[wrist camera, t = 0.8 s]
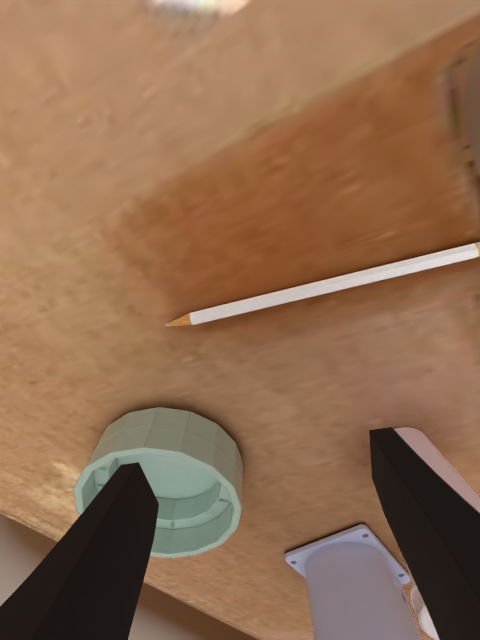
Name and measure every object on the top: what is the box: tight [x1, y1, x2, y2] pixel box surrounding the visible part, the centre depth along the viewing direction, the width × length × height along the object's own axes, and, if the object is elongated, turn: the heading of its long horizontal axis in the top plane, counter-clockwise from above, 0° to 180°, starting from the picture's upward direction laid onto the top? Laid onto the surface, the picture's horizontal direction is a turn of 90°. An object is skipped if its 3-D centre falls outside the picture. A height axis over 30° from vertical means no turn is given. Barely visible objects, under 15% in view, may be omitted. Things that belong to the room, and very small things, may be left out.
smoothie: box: [394, 427, 480, 640], centre depth 17 cm, size 6×6×14 cm
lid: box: [74, 407, 243, 558], centre depth 22 cm, size 11×11×4 cm
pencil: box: [164, 242, 480, 326], centre depth 18 cm, size 1×19×1 cm, turn 106°
